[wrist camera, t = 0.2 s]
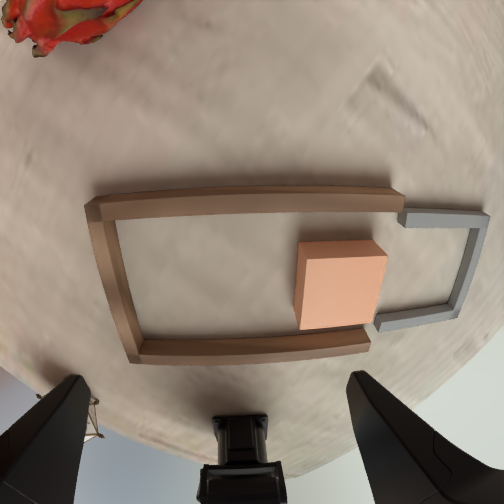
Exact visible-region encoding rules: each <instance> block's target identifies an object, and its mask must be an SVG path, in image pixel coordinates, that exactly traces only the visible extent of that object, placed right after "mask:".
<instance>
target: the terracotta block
mask: <svg viewBox="0 0 504 504" xmlns="http://www.w3.org/2000/svg"><path fill="white" fill-rule="evenodd" d="M387 258H388V255H387V254H386V253H385V252H384V251H383V250H382V249H381V248H380V247H379V246H378V245H377V244H376V243H375V241H374V240H347V241H313V242H299V244H298V259H297V273H296V286H295V298H294V312H295V315H296V319H297V322H298V325H299V329H300V330H306V329H317V328H327V327H337V326H346V325H355V324H363V323H371V322H372V320H373V316H374V312H375V309H376V305H377V301H378V297H379V293H380V289H381V285H382V281H383V277H384V272H385V268H386V263H387Z"/></svg>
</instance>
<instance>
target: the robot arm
mask: <svg viewBox="0 0 504 504" xmlns="http://www.w3.org/2000/svg"><path fill="white" fill-rule="evenodd" d="M346 394H347V399H348V404H349V409H350V415H351V420H352V425H353V430H354V434H355V437H356V441H357V444H358V447H359V450H360V453H361V456H362V460H363V463H364V467H365V470H366V473H367V476H368V480H369V483H370V487H371V490H372V493H373V497H374V501H375V504H504V470H499V469H495V468H492V467H489V466H487V465H485V464H484V463H481V462H480V461H479V460H477V459H475V458H474V457H472V456H471V455H469V454H467V453H466V452H464V451H462V450H461V449H460V448H458V447H456V446H455V445H454V444H452V443H451V442H450V441H448V440H447V439H446V438H444V437H443V436H442V435H441V434H439V433H438V432H437V431H434V429H433V428H432V427H431V426H430V425H429V424H427V423H426V422H425V421H424V420H422V419H421V418H420V417H419V416H418V415H417V414H415V413H414V412H413V411H412V410H411V409H409V408H408V407H407V406H406V405H405V404H403V403H402V402H401V401H400V400H399V399H397V398H396V397H395V396H394V395H393V394H392V393H390V392H389V391H388V390H387V389H386V388H384V387H383V386H382V385H381V384H380V383H379V382H377V381H376V380H375V379H374V378H373V377H371V376H370V375H369V374H368V373H367V372H366V371H364V370H359V371H354V372H352V373H351V375H350V378H349V381H348V384H347V387H346ZM90 397H91V392H90V389H89V387H88V385H87V384H86V382H85V380H84V378H83V377H82V376H81V375H78V374H70V375H69V376H67V377H66V378H65V379H64V380H63V381H62V382H60V383H59V384H58V385H57V386H56V387H55V388H54V389H52V390H51V391H50V392H49V393H48V394H47V395H46V396H44V397H43V398H42V399H41V400H40V401H39V402H38V403H37V404H35V405H34V406H33V407H32V408H31V409H30V410H29V411H27V412H26V413H25V414H24V415H23V416H22V417H21V418H20V419H18V420H17V421H16V422H15V423H14V424H13V425H12V426H11V427H10V428H9V429H8V430H6V431H5V432H4V433H3V434H2V435H1V436H0V504H73V503H74V495H75V489H76V482H77V476H78V470H79V464H80V459H81V454H82V449H83V444H84V439H85V434H86V428H87V420H88V412H89V404H90ZM212 422H213V427H214V431H215V435H216V439H217V442H218V465H209V464H204V467H203V469H201V470H200V484H199V488H198V492H197V497H196V498H197V500H198V501H199V502H200V503H201V504H287V493H286V487H285V482H284V476H283V471H282V466H281V461H276V462H270V463H268V462H267V453H266V444H265V440H266V439H267V426H268V416H267V415H254V416H231V417H213V418H212Z"/></svg>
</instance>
